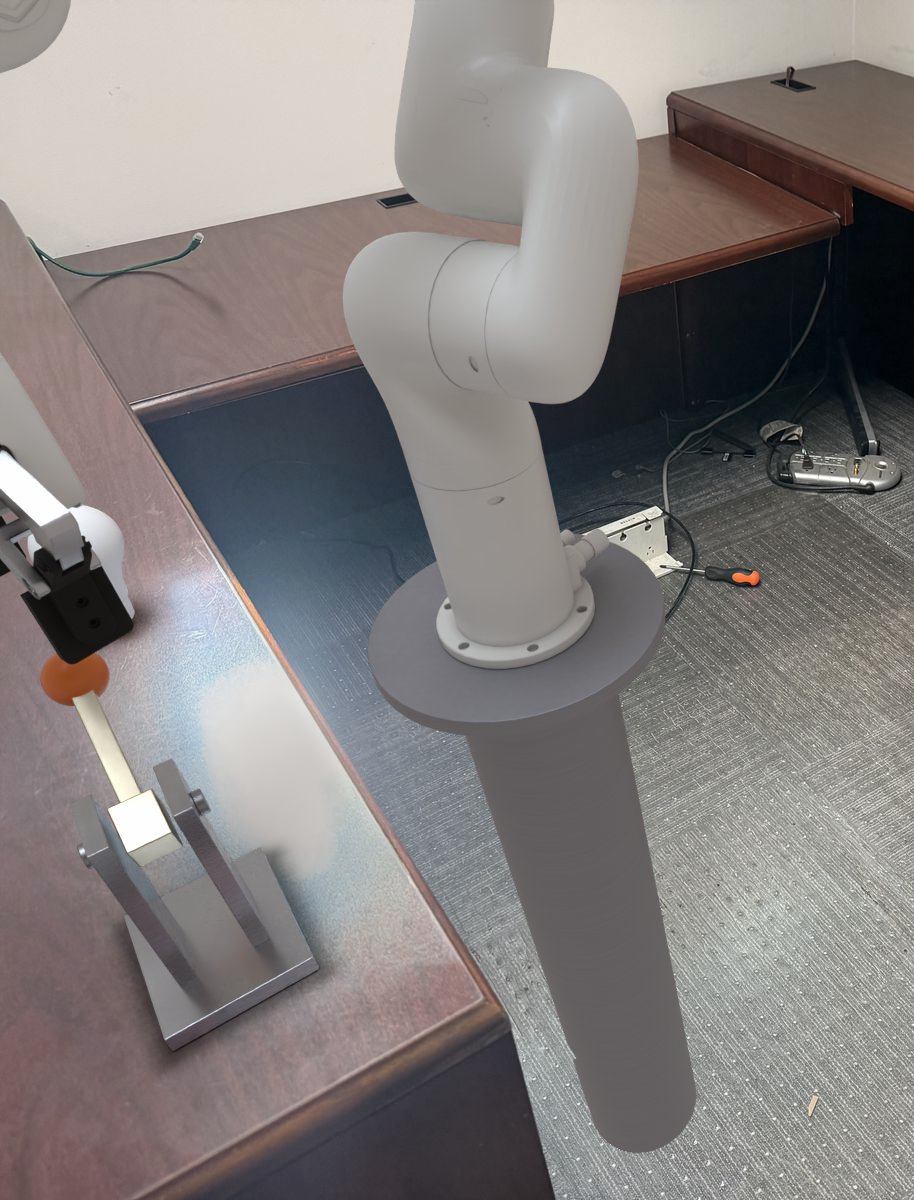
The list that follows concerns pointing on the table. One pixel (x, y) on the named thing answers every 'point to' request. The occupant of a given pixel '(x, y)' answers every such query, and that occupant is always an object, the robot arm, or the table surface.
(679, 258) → the table surface
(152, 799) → the lever
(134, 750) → the table surface
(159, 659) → the table surface
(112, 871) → the bracket
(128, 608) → the lightbulb
